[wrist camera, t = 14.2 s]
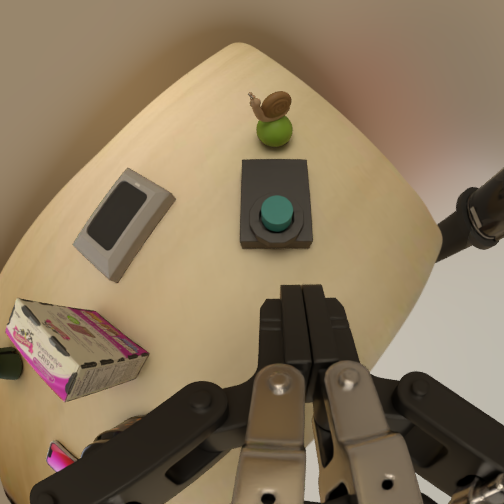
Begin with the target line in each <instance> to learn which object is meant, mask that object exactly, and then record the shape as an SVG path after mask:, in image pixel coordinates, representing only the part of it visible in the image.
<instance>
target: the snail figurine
mask: <svg viewBox="0 0 504 504" xmlns="http://www.w3.org/2000/svg"><path fill="white" fill-rule="evenodd" d="M248 95H249V96H250V100H251V101H250V106H251V107H252V109H253V112H254V114H255V116H256V117H257V118H258V119H259V121H258V124H257V129H256V130H257V135H258V137H259V139H260V140H261V141H262V142H263V143H264V144H266V145H268V146H272V147H278V146H282V145H284V144H285V143H287V142H288V141H289V139H290V138H291V135H292V124H291V122H290V120H289V119H288V118H287V117H286V116H285V115H286V114H287V112H288V111H289V109H290V108H289V107H290V105H291V97H290V95H289V94H288V93H286V92H283V91H278V92H275V93H272V94H271V95H269V96H268V97H267V98H266V99H265V100H264V101H263V103H262V106H261V107H260V104H261V102H260V100H259V99H258V98H255V96H254V95H252V93H251V92H249V93H248Z"/></svg>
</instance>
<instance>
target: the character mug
mask: <svg viewBox="0 0 504 504" xmlns="http://www.w3.org/2000/svg"><path fill="white" fill-rule="evenodd" d="M12 351H15V349H14V348H12V347H6V348H0V378H1V379H9V380H16V379H18V378H19V376H20V374H21V371H22V366H21V360H20V357H19V354H14V353H13V352H12Z"/></svg>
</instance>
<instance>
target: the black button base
mask: <svg viewBox="0 0 504 504" xmlns="http://www.w3.org/2000/svg"><path fill="white" fill-rule="evenodd" d="M275 195H279V196H283V197H285V198H287V199H288V200H289V201H290V202H291V204H292V206H293V215H292V220H291V223H290V225H289V226H288V228H286V229H285V230H283V231H280V232H274V231H270V230H269V229H267V228H266V227H265V226H264V225H263V223H262V217H261V207H262V204H263V202H264V201H265V200H266V199H267V198H269V197H271V196H275ZM312 242H313V235H312V219H311V204H310V192H309V180H308V169H307V160H301V159H250V160H242V180H241V214H240V243H241V247H242V248H310V246H311V244H312Z"/></svg>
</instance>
